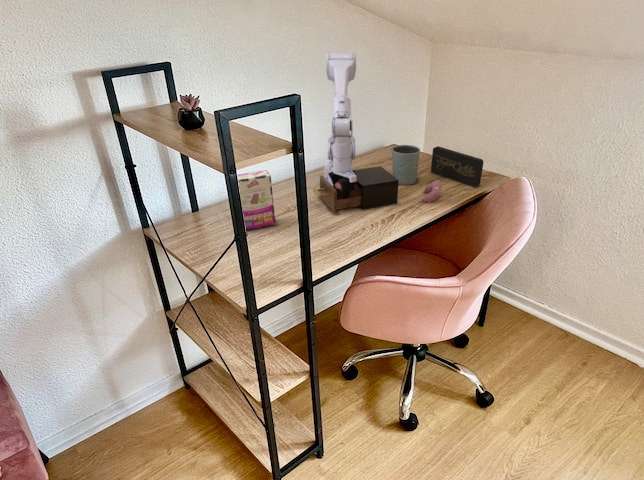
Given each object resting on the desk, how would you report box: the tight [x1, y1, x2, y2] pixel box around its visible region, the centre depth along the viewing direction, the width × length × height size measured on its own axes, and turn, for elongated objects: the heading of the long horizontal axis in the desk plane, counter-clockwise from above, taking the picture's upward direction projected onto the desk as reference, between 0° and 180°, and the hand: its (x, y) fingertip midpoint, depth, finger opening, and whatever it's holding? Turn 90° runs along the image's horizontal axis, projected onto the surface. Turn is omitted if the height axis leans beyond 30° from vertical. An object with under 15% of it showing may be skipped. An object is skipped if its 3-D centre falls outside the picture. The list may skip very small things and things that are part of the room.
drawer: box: [312, 175, 362, 215], centre depth 163 cm, size 16×14×8 cm
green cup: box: [391, 144, 421, 186], centre depth 179 cm, size 10×10×12 cm
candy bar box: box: [237, 169, 276, 231], centre depth 148 cm, size 11×5×16 cm, turn 114°
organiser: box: [352, 165, 399, 210], centre depth 167 cm, size 13×14×8 cm
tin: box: [335, 182, 343, 200], centre depth 163 cm, size 5×5×5 cm
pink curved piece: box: [422, 179, 443, 203], centre depth 168 cm, size 10×5×7 cm, turn 168°
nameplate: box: [430, 145, 484, 188], centre depth 181 cm, size 21×2×10 cm, turn 43°
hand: (342, 195), depth 164 cm, fingers closed on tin, 4 cm apart
